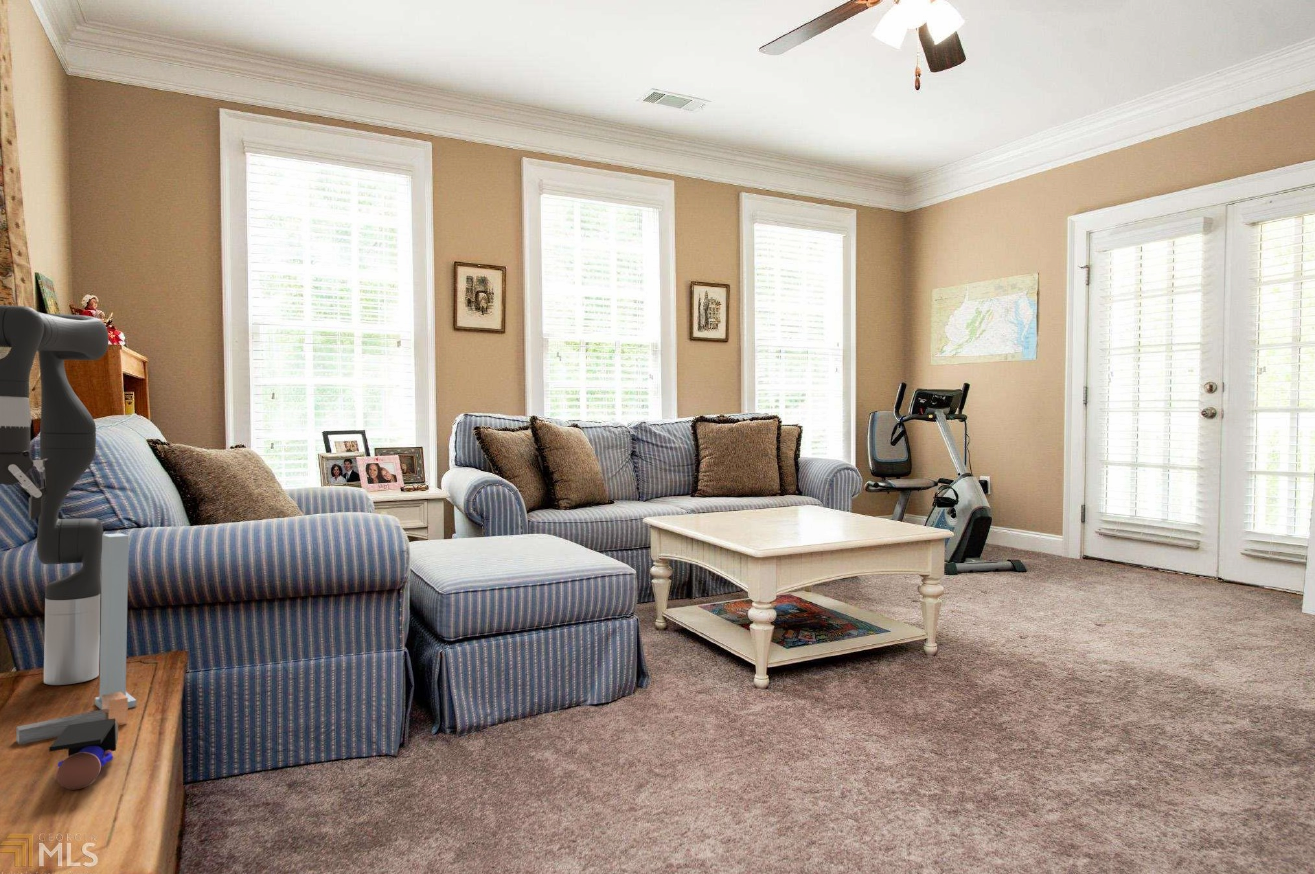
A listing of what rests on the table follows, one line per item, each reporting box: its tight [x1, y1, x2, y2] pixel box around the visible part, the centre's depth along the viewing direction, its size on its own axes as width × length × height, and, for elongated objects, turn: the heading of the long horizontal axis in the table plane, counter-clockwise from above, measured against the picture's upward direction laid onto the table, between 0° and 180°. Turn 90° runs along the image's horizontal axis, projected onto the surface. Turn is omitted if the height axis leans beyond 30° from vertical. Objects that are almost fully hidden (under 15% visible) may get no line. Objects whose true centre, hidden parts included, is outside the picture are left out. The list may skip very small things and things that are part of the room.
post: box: [94, 532, 137, 710], centre depth 148 cm, size 7×5×32 cm
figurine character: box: [48, 718, 119, 791], centre depth 118 cm, size 7×8×15 cm
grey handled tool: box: [16, 692, 129, 746], centre depth 135 cm, size 5×15×5 cm, turn 137°
